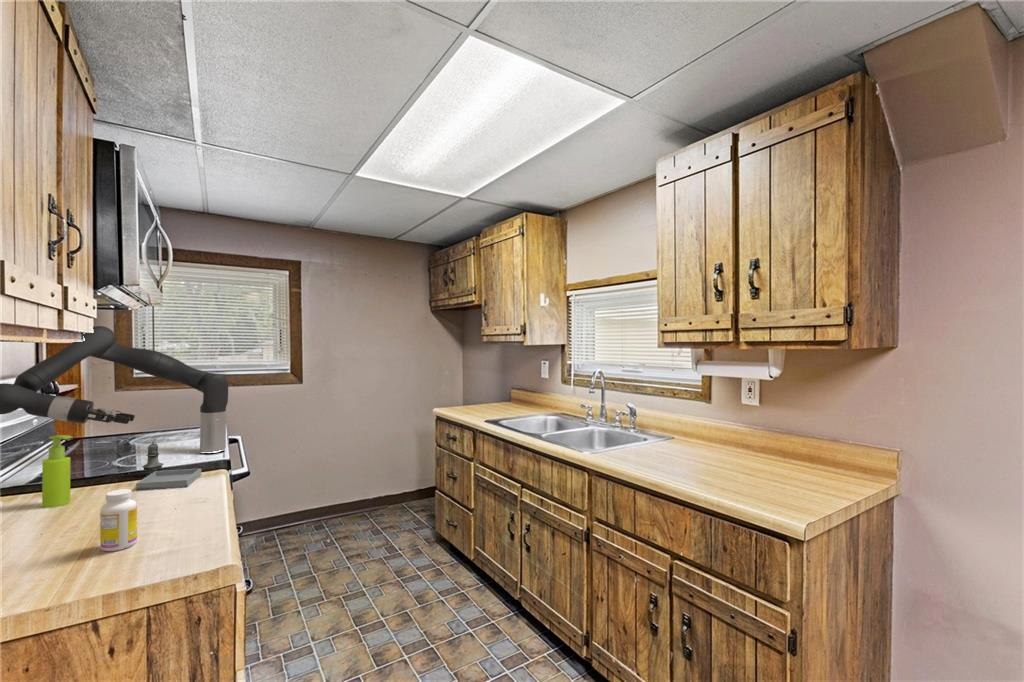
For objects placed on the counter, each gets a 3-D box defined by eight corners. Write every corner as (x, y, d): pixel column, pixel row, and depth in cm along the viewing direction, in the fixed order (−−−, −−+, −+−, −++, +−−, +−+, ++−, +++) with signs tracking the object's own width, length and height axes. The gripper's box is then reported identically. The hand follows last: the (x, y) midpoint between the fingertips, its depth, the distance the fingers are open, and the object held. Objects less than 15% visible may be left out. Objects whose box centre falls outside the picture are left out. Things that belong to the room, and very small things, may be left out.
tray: (154, 478, 164) (154, 471, 164) (201, 475, 168) (201, 468, 168) (136, 490, 151) (136, 483, 151) (187, 487, 155) (187, 479, 155)
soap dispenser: (60, 508, 135) (60, 438, 135) (36, 507, 135) (36, 437, 135) (79, 500, 141) (79, 433, 141) (56, 500, 141) (56, 433, 141)
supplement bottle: (132, 537, 117) (133, 485, 116) (140, 545, 112) (140, 491, 112) (97, 546, 111) (97, 492, 111) (103, 555, 107) (103, 498, 107)
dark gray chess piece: (151, 478, 164) (152, 443, 164) (137, 477, 165) (138, 442, 165) (167, 473, 170) (167, 440, 169) (153, 472, 171) (154, 439, 171)
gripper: (68, 399, 149) (131, 410, 156) (81, 397, 161) (139, 407, 169) (59, 423, 148) (123, 433, 155) (73, 418, 160) (131, 427, 168)
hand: (131, 419), depth 162 cm, fingers open, 8 cm apart
